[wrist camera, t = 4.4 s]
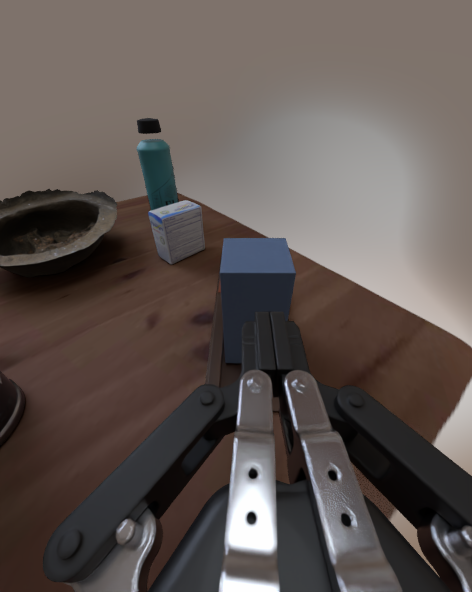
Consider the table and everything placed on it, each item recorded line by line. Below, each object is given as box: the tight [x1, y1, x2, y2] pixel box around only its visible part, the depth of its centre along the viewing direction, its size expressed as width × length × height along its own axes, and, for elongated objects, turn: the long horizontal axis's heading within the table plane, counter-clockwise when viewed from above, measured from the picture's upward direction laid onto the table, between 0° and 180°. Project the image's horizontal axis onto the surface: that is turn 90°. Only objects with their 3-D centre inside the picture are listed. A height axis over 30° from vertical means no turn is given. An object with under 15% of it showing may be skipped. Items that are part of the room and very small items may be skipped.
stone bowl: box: [0, 189, 117, 277], centre depth 44 cm, size 25×25×9 cm
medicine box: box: [148, 200, 205, 265], centre depth 44 cm, size 8×4×9 cm, turn 135°
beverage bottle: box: [137, 118, 179, 211], centre depth 51 cm, size 6×7×20 cm
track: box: [205, 258, 289, 412], centre depth 34 cm, size 10×28×1 cm, turn 179°
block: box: [220, 238, 296, 363], centre depth 25 cm, size 6×6×12 cm
